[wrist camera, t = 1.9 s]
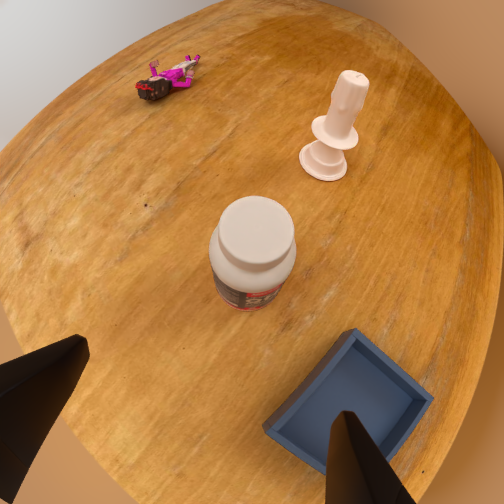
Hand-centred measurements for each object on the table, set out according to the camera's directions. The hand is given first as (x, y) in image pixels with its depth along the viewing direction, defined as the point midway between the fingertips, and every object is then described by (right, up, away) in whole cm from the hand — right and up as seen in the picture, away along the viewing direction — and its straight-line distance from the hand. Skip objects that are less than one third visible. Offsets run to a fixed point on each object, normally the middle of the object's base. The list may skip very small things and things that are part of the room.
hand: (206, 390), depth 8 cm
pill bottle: (+1, +2, +16) cm, 16 cm away
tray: (+9, -9, +12) cm, 17 cm away
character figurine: (-9, +27, +25) cm, 38 cm away
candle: (+9, +14, +21) cm, 27 cm away
